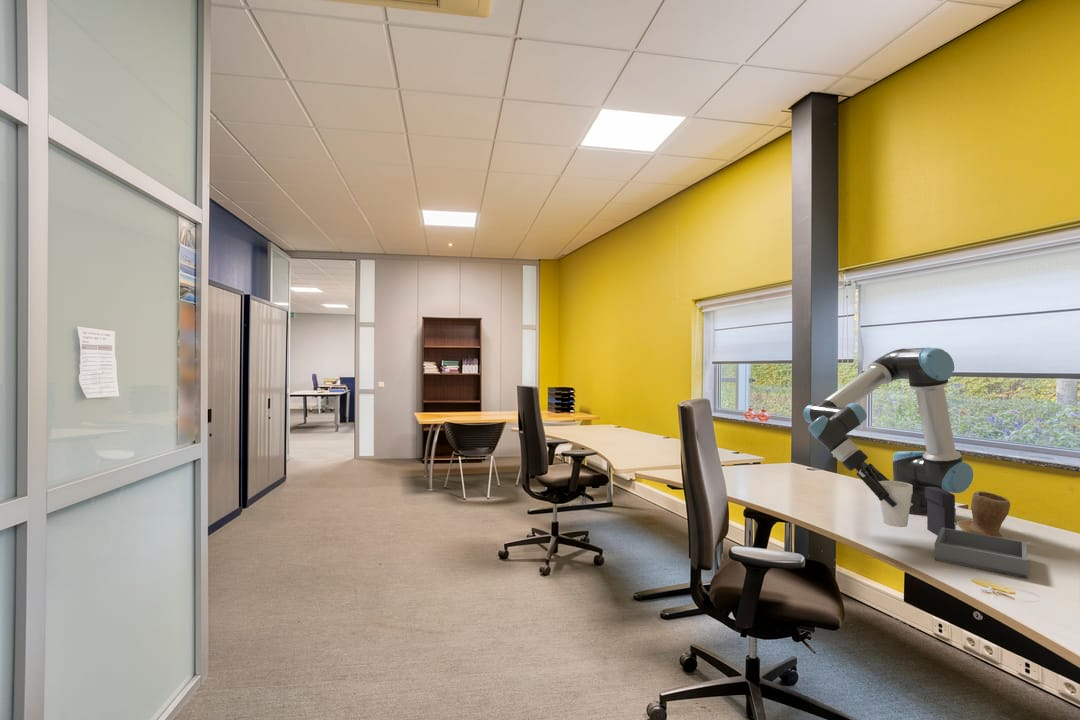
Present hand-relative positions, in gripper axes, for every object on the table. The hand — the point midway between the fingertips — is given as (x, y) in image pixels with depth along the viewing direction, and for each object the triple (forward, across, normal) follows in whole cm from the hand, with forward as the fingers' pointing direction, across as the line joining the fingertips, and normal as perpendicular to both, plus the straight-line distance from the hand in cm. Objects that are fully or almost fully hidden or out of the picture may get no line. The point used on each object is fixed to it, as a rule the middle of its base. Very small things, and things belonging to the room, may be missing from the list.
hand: (907, 510), depth 167 cm
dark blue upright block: (+13, -19, -3) cm, 23 cm away
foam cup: (+1, 0, -6) cm, 6 cm away
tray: (+20, +1, +5) cm, 21 cm away
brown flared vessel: (+21, -26, +4) cm, 34 cm away
